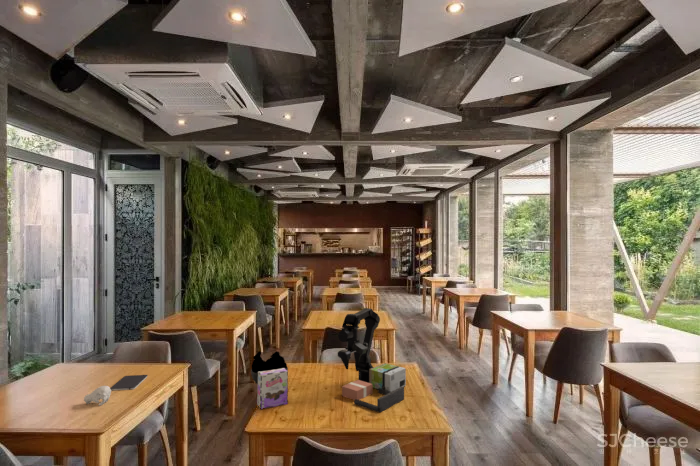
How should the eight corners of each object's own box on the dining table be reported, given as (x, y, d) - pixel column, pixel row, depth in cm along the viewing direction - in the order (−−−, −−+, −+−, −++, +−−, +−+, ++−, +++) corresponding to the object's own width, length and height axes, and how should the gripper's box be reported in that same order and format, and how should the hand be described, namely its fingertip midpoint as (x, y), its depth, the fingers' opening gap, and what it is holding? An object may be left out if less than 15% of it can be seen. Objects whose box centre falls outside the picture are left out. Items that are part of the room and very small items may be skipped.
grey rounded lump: (104, 388, 191) (79, 390, 191) (106, 405, 191) (80, 408, 190) (112, 383, 197) (87, 385, 197) (113, 400, 197) (89, 403, 197)
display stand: (354, 404, 194) (354, 391, 194) (379, 391, 210) (379, 380, 210) (380, 412, 184) (380, 399, 184) (404, 399, 200) (404, 387, 200)
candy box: (260, 409, 187) (260, 374, 187) (257, 405, 192) (257, 371, 193) (288, 404, 193) (288, 370, 194) (284, 400, 199) (284, 367, 199)
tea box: (390, 374, 208) (368, 368, 217) (390, 393, 207) (368, 387, 217) (406, 367, 219) (384, 362, 229) (406, 385, 219) (384, 380, 228)
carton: (341, 396, 204) (342, 386, 205) (357, 389, 214) (357, 379, 214) (357, 401, 198) (357, 390, 198) (372, 393, 208) (372, 383, 208)
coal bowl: (295, 387, 216) (295, 352, 217) (263, 397, 202) (264, 360, 203) (274, 378, 231) (274, 346, 231) (243, 387, 216) (243, 352, 217)
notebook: (124, 378, 232) (108, 391, 211) (125, 375, 232) (108, 388, 211) (148, 377, 234) (134, 390, 213) (148, 374, 234) (134, 387, 213)
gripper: (354, 343, 200) (354, 374, 200) (374, 336, 215) (374, 365, 215) (337, 340, 207) (336, 370, 206) (357, 334, 222) (357, 362, 221)
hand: (352, 367), depth 212 cm, fingers open, 9 cm apart
